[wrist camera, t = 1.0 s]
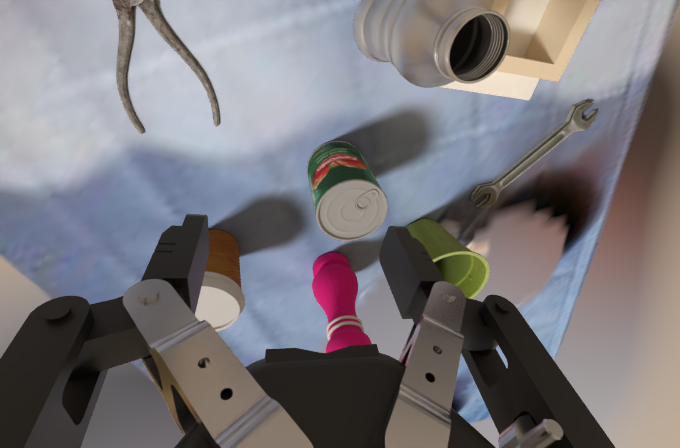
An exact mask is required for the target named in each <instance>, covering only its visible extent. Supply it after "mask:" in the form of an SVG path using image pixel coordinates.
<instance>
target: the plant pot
mask: <svg viewBox="0 0 680 448" xmlns="http://www.w3.org/2000/svg"><path fill="white" fill-rule="evenodd" d="M406 228H407V229H408V231H409V232H410V234H411V236H412V238H416V239H417V240H419V241H420V242H421V243H422V244H423V245H424V246H425V248H426V250H427V251H428V254H429V255H430V257H431V258H432V261H433V262H434V263H435V265H436V267H437V268H438V270H439V272H440V273H441V275H442V277H443V278H444V280H445V282H449V283H451V284H453V285H455V286H457V287H458V288H459V289H460V290H461V291H462V292H463V293H464V295H465V297H466V298H469V299H472V298H473V297H475V296H476V295H477V294H478V293H479V292H480V291H481V290H482V288H483V287H484V286H485V284H486V282H487V280H488V277H489V273H490V272H489V271H490V268H489V264H488V262H487V260H486V259H485V258H484V257H483V256H481V255H480V254H478V253H475V252H472V251H471V250H469V249H468V248H467V247H465V246H463V245H462V244H461V243H459V242H458V241H457V240H456V239H455V238H454V237H453V236H451V235H450V234H449V233H448V232H447V231H446V230H445V229H444V228H442V227H441V226H440V225H439V224H438V223H437V222H435V221H433V220H431V219H420V220H418V221H416V222H414V223H411V224H409V225H408V226H407V227H406Z"/></svg>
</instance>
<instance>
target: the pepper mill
mask: <svg viewBox="0 0 680 448" xmlns="http://www.w3.org/2000/svg"><path fill="white" fill-rule="evenodd" d="M313 274H314V279H313V283H312V289H313V293H314V296H315V298H316V300H317V302H318V303H319V304H320V305H321V307H322V308H323V309H324V311H325V313H326V315H327V318H328V322H329V324H328V326H327V329H326V332H327V337H328V340H329V342H328V344H327V347H326V353H329V352H332V351H335V350H338V349H341V348H344V347H347V346H351V345H368V344H371V341H370V339H369V337H368V336H367V335H366V334H365V333H364V329H363V326H362V322H361V320H360V319H359V318H357V316H356V312H355V300H356V296H357V292H358V282H357V277H356V275H355V273H354V272H353V271H352V270H351V267H350V264H349V261H348V259H347V258H346V257H345V256H344V255H343V254H340V253H334V252H332V253H326V254H324V255H322V256H320V257H319V258H318V259H317V260H316V261H315V262H314V264H313Z"/></svg>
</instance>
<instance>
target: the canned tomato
mask: <svg viewBox="0 0 680 448" xmlns="http://www.w3.org/2000/svg"><path fill="white" fill-rule="evenodd" d="M307 175H308V178H309V183H310V188H311V193H312V198H313V203H314V208H315V213H316V219H317V223H318V225H319V227H320V228H321V230H322V231H323V232H324V233H325V234H326V235H327V236H329V237H331V238H333V239H336V240H341V241H354V240H359V239H362V238H364V237H366V236H368V235H370V234H372V233H373V232H374V231H376V230H377V229H378V228H379V227H380V226H381V224H382V223H383V221H384V220H385V217H386V215H387V211H388V202H387V198H386V196H385V194H384V192H383V191H382V190H381V188H380V186H379V184H378V182H377V181H376V179H375V177H374V175H373V174H372V172H371V170H370V168H369V167H368V165H367V163H366V161H365V160H364V158H363V156H362V154H361V152H360V151H359V150H358V149H357V148H356V147H355V146H354V145H352V144H350V143H348V142H345V141H330V142H327V143H324V144H322V145H321V146H319V147H318V148H317V149H316V150H314V152H313V153H312V154H311V156H310V158H309V160H308V164H307Z"/></svg>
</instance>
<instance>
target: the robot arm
mask: <svg viewBox="0 0 680 448" xmlns="http://www.w3.org/2000/svg"><path fill="white" fill-rule="evenodd" d="M208 256H209V232H208V217H207V215H197V214H187V215H186V217H185V220H184V222H183V225H182V226H171V227H169V228H168V229H167V230H166V231H165V232H163V233H162V235H161V237H160V240H159V242H158V245H157V246H156V249H155V252H154V253H153V255H152V258H151V260H150V262H149V264H148V266H147V269H146V271H145V273H144V275H143V278H142V280H141V282H139V283H137V284H135V285H133V286H132V287H130V288H129V289H128V290H127V291H126V292H125V294H124V296H122V297H119V298H116V299H113V300H109V301H104V302H100V303H95V304H91V305H89V303H88V301H87V300H86V299H84V298H82V297H79V296H64V297H59V298H55V299H52V300H50V301H47V302H45V303H44V304H42V305H40V306H39V307H37V308H36V309H35V310H34V311H32V312H31V314H30V315H29V316H28V318H27V319H26V321H25V322H24V324H23V325H22V327H21V328H20V330H19V331H18V333H17V334H16V336H15V337H14V339H13V341H12V342H11V344H10V345H9V347H8V348H7V350H6V351H5V353H4V354H3V356H2V357H1V359H0V448H80V447H81V444H82V441H83V439H84V436H85V433H86V430H87V427H88V424H89V422H90V419H91V416H92V413H93V410H94V408H95V405H96V402H97V399H98V396H99V394H100V391H101V388H102V385H103V383H104V380H105V377H106V374H107V371H108V369H109V368H112V367H115V366H118V365H121V364H124V363H128V362H131V361H134V360H137V359H141V360H142V362H143V364H144V365H145V367H146V369H147V370H148V372H149V374H150V376H151V377H152V379H153V381H154V382H155V384H156V386H157V387H158V389H159V391H160V392H161V394H162V396H163V398H164V400H165V402H166V404H167V406H168V409H169V411H170V413H171V415H172V417H173V419H174V421H175V423H176V424H177V426H178V427H179V429H180V431H181V433H182V435H183V436H184V437H183V438H182V439H181V440H180V442H179V443H178V444H177V445H176V446H175V447H174V448H495V447H494V446H493V445H492V444H491V443H490V442H489V441H488V440H487V439H486V438H484V437H483V436H482V435H481V434H480V433H479V432H478V431H477V430H476V429H475V428H473V427H472V426H471V425H470V424H469V423H468V422H467V421H466V420H465V419H463V418H462V417H461V416H460V415H459V414H458V413H457V412H456V411H455V410H454V409H452V408H451V404H452V399H453V393H454V388H455V382H456V377H457V372H458V366H459V361H460V355H461V353H462V355H463V357H464V359H465V361H466V363H467V366H468V368H469V370H470V372H471V374H472V376H473V379H474V381H475V383H476V385H477V387H478V389H479V391H480V394H481V396H482V398H483V400H484V402H485V404H486V406H487V409H488V411H489V413H490V415H491V417H492V419H493V421H494V424H495V426H496V428H497V430H498V432H499V434H500V436H499V441H498V442H499V448H615V446H614V445H613V444H612V442H611V441H610V439H609V438H608V437H607V435H606V434H605V432H604V431H603V429H602V428H601V427H600V425H599V424H598V423H597V421H596V420H595V418H594V417H593V415H592V414H591V413H590V411H589V410H588V409H587V407H586V405H585V404H584V403H583V401H582V400H581V398H580V397H579V396H578V394H577V393H576V392H575V390H574V388H573V387H572V386H571V384H570V383H569V381H568V380H567V379H566V377H565V376H564V375H563V373H562V372H561V370H560V369H559V367H558V366H557V364H556V363H555V362H554V360H553V359H552V357H551V356H550V355H549V353H548V352H547V350H546V349H545V348H544V346H543V345H542V343H541V342H540V340H539V339H538V338H537V336H536V335H535V333H534V332H533V331H532V329H531V328H530V326H529V325H528V324H527V322H526V321H525V319H524V318H523V316H522V315H521V314H520V312H519V311H518V309H517V308H516V307H515V306H514V305H513V304H512V303H511V302H510V301H508V300H507V299H505V298H503V297H501V296H498V295H489V296H487V297H486V298H485V300H484V301H483V302H480V301H477V300H473V299H469V298H466V297H465V295H464V293H463V292H462V291H461V290H460V289H459V288H458V287H457V286H455V285H453V284H451V283H449V282H445V280H444V278H443V277H442V275H441V273H440V272H439V270H438V268H437V267H436V265H435V263H434V262H433V261H432V258H431V257H430V255H429V254H428V251H427V250H426V248H425V246H424V245H423V244H422V243H421V242H420V241H419V240H417V239H416V238H412V236H411V234H410V232H409V231H408V229H407V228H406V227H399V226H390V227H389V228H388V230H387V233H386V236H385V238H384V241H383V244H382V247H381V250H380V256H379V258H380V264H381V266H382V269H383V271H384V274H385V276H386V279H387V281H388V284H389V286H390V289H391V291H392V294H393V296H394V299H395V301H396V304H397V306H398V309H399V311H400V314H401V316H402V318H403V319H413V321H414V323H413V325H412V327H411V330H410V332H409V335H408V338H407V340H406V343H405V346H404V348H403V351H402V353H401V356H400V358H399V361H398V360H396V359H394V358H392V357H390V356H388V355H385V354H382V353H379V351H378V348H377V345H376V344H368V345H351V346H347V347H344V348H341V349H338V350H335V351H332V352H329V353H318V352H313V351H308V350H303V349H298V348H285V349H266V354H265V359H262V360H259V361H256V362H254V363H252V364H250V365H249V366H247V367H244V365H243V364H242V363H241V362H240V360H239V359H238V358H237V357H236V356H235V354H234V353H233V352H232V351H231V349H230V348H229V347H228V346H227V344H226V343H225V342H224V341H223V339H222V338H221V337H220V336H219V334H218V333H217V332H216V331H215V329H214V328H213V327H212V326H211V324H210V323H209V322H208V321H206V320H203V321H199V320H198V319H197V318H196V316H195V312H196V308H197V304H198V299H199V295H200V291H201V286H202V282H203V278H204V274H205V269H206V265H207V261H208ZM498 345H499V347H500V348H501V350H502V352H503V353H504V355H505V357H506V359H507V362H508V369H507V368H506V366H505V364H504V363H503V361H502V359H501V357H500V356H499V354H498V352H497V350H496V349H495V348H496V347H497V346H498Z"/></svg>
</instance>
